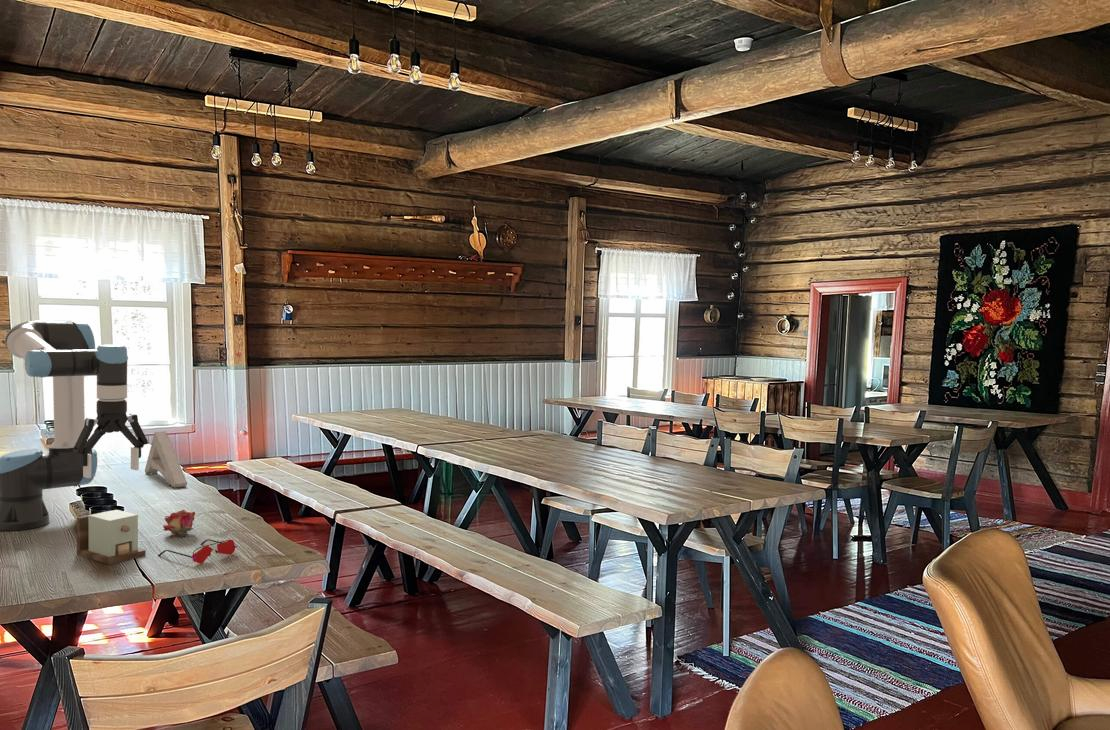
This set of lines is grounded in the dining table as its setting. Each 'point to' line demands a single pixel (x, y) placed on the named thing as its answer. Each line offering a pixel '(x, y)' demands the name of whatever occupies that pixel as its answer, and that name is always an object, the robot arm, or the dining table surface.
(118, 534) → the cabinet block
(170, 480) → the wooden letter a
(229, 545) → the glasses
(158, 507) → the dining table surface
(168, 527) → the flower
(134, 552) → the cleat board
